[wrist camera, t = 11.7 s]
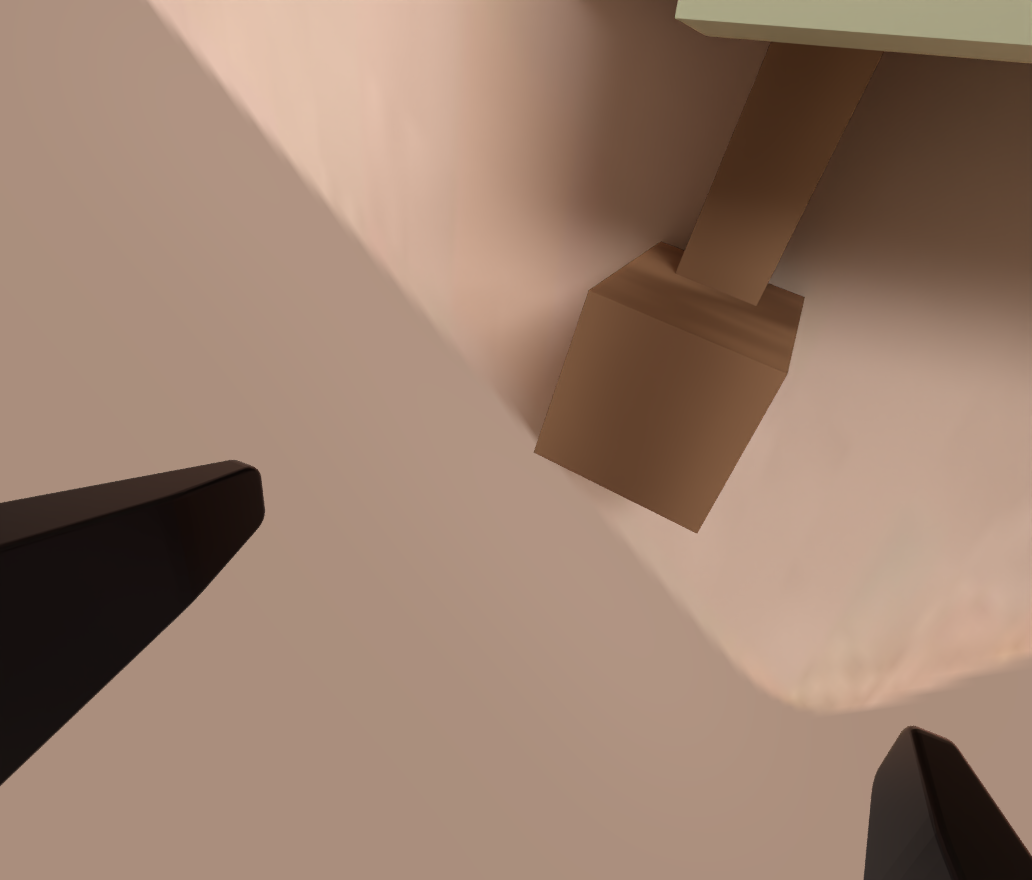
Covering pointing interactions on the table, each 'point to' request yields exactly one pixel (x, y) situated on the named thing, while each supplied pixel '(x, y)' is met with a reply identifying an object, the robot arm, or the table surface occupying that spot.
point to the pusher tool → (705, 306)
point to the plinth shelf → (874, 24)
